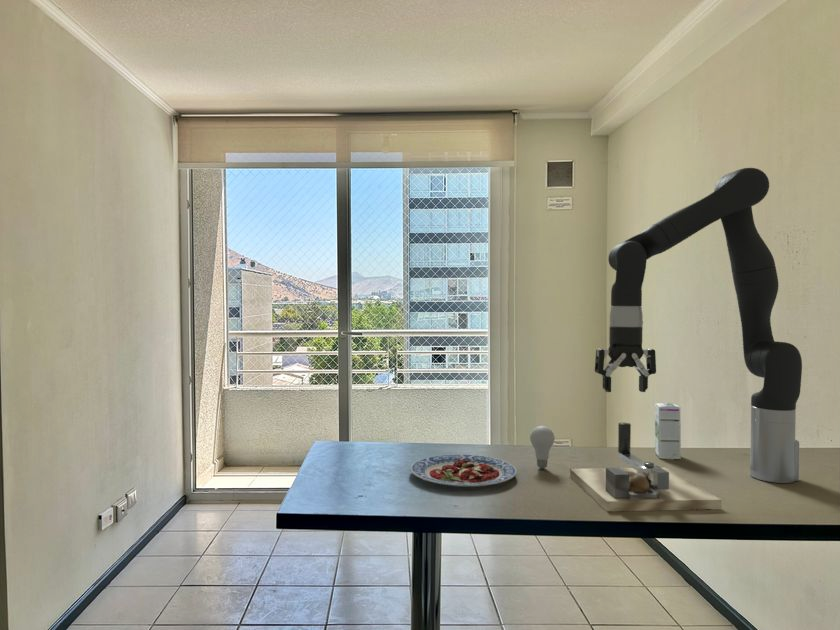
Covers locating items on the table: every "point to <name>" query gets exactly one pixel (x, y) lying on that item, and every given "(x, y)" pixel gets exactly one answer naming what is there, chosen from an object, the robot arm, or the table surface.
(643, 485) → the walnut
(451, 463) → the ceramic plate
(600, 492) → the base
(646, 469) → the lever
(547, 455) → the lightbulb
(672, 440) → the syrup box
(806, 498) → the table surface
